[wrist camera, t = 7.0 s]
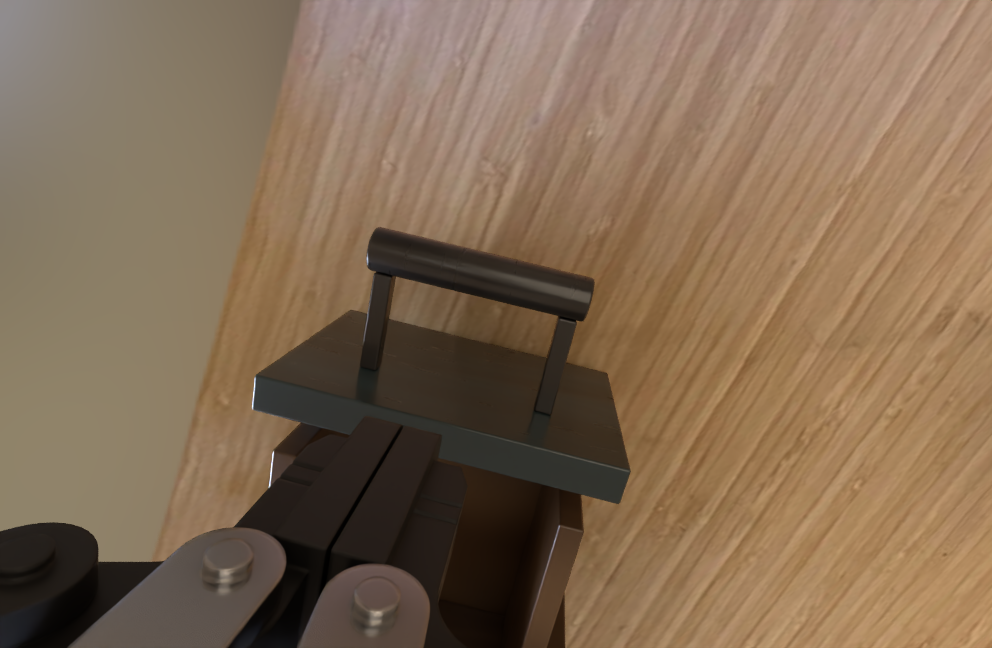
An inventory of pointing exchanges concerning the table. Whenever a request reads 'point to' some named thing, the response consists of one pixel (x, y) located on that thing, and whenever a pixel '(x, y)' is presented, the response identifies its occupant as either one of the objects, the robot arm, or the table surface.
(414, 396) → the drawer
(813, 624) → the table surface
